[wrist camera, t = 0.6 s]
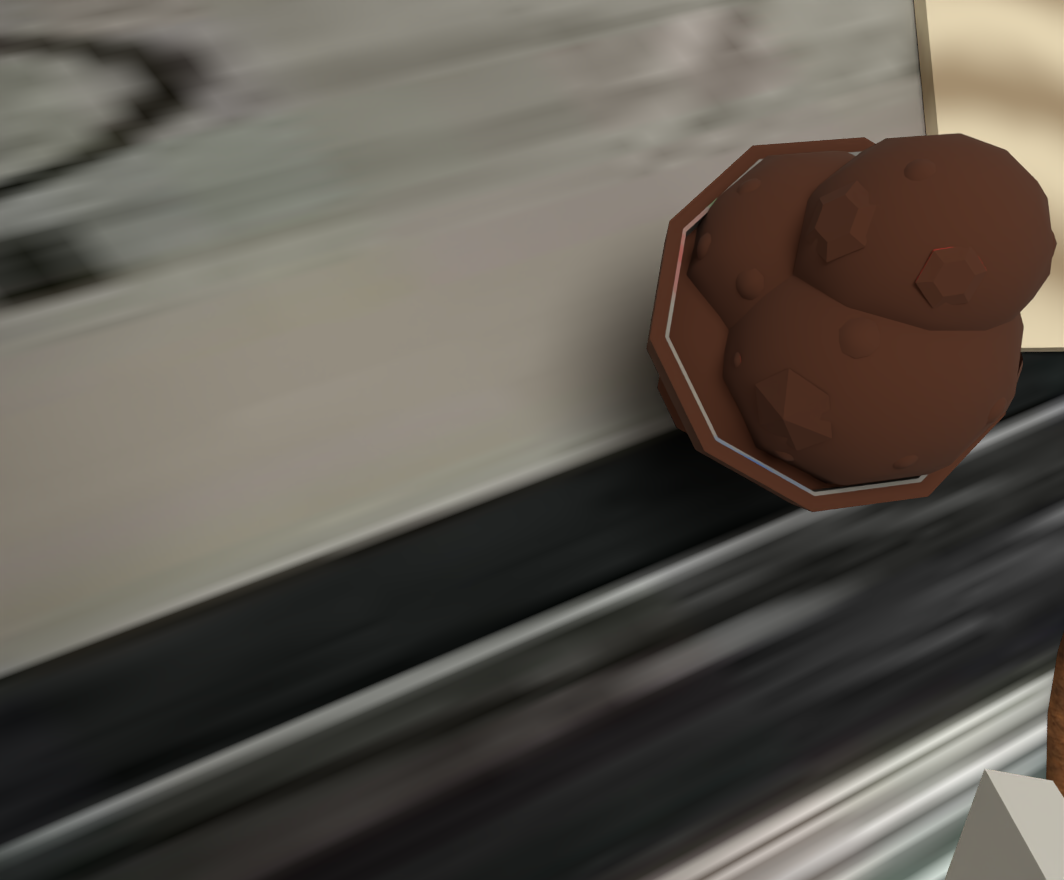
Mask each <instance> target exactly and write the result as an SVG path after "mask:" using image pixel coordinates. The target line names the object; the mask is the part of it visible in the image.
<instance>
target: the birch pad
mask: <svg viewBox="0 0 1064 880" xmlns="http://www.w3.org/2000/svg"><path fill="white" fill-rule="evenodd" d="M914 8H915V19H916V29H917V40H918V51H919V61H920V72H921V82H922V93H923V104H924V114H925V125H926V136H927V135H940V134H955V133H961V134H964V135H967V136H970V137H972V138H975V139H978V140H981V141H983V142H986V143H989V144H992V145H994V146H997V147H1000V148H1003V149H1005V150H1007V151H1008V152H1009V153H1010V154H1011V155H1012V156H1013V157H1014V158H1015V159H1016V160H1017V161H1018V162H1019V163H1020V164H1021V165H1022V166H1023V167H1024V168H1025V169H1026V170H1027V171H1028V172H1029V173H1030V174H1031V175H1032V176H1033V177H1034V178H1035V179H1036V180H1037V181H1038V183H1039V184H1040V186H1041V188H1042V189H1043V191H1044V193H1045V194H1046V196H1047V198H1048V205H1049V213H1050V221H1051V229H1052V231H1053V233H1054V235H1055V239H1056V242H1057V245H1056V249H1055V252H1054V255H1053V257H1052V263H1051V271H1050V275H1049V276H1048V278H1047V279H1046V281H1045V282H1044V284H1043V285H1042V287H1041V288H1040V290H1039V291H1038V293H1037V294H1036V295H1035V297H1034V298H1033V299H1032V300H1031V301H1030V303H1029V304H1028V305H1027V306H1026V307H1025V308H1024V309H1023V310H1022V311H1021V312H1020V314H1021V317H1022V321H1023V325H1024V330H1023V338H1022V345H1021V352H1057V351H1064V0H914Z"/></svg>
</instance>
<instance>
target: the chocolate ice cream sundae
mask: <svg viewBox="0 0 1064 880" xmlns="http://www.w3.org/2000/svg"><path fill="white" fill-rule="evenodd" d="M1056 245H1057V242H1056V239H1055V235H1054V233H1053V231H1052V229H1051V221H1050V213H1049V205H1048V198H1047V196H1046V194H1045V193H1044V191H1043V189H1042V188H1041V186H1040V184H1039V183H1038V181H1037V180H1036V179H1035V178H1034V177H1033V176H1032V175H1031V174H1030V173H1029V172H1028V171H1027V170H1026V169H1025V168H1024V167H1023V166H1022V165H1021V164H1020V163H1019V162H1018V161H1017V160H1016V159H1015V158H1014V157H1013V156H1012V155H1011V154H1010V153H1009V152H1008V151H1007V150H1005V149H1003V148H1000V147H997V146H994V145H992V144H989V143H986V142H983V141H981V140H978V139H975V138H972V137H970V136H967V135H964V134H961V133H955V134H940V135H927V136H913V137H900V138H886V139H884V140H882V141H881V142H879V143H877V144H875V143H873V142H871V141H870V140H868V139H866V138H865V137H863V138H849V139H836V140H822V141H809V142H795V143H782V144H768V145H755V146H752V147H751V148H750V149H748V150H747V151H746V152H745V153H744V154H743V155H742V156H741V157H740V158H739V159H737V160H736V161H735V162H734V163H733V164H732V165H731V166H730V167H729V168H728V169H726V170H725V171H724V172H723V173H722V174H721V175H720V176H719V177H718V178H716V179H715V180H714V181H713V182H712V183H711V184H710V185H709V186H708V187H707V188H705V189H704V190H703V191H702V192H701V193H700V194H699V195H698V196H697V197H696V198H694V199H693V200H692V201H691V202H690V203H689V204H688V205H687V206H686V207H685V208H683V209H682V210H681V211H680V212H679V213H678V214H677V215H676V216H675V217H674V218H672V219H671V220H670V222H669V226H668V230H667V235H666V239H665V243H664V249H663V255H662V261H661V266H660V272H659V278H658V284H657V290H656V296H655V302H654V308H653V313H652V319H651V325H650V331H649V337H648V343H647V351H648V353H649V355H650V357H651V359H652V361H653V363H654V366H655V368H656V370H657V372H658V374H659V382H658V390H659V392H660V394H661V396H662V398H663V400H664V402H665V404H666V406H667V409H668V411H669V413H670V415H671V417H672V419H673V421H674V423H675V425H676V427H677V428H679V429H680V430H682V431H684V432H686V433H687V434H688V436H689V438H690V440H691V442H692V444H693V446H694V448H695V450H697V451H699V452H700V453H702V454H704V455H706V456H707V457H709V458H711V459H713V460H715V461H716V462H718V463H720V464H722V465H723V466H725V467H727V468H729V469H731V470H732V471H734V472H736V473H738V474H739V475H741V476H743V477H745V478H747V479H748V480H750V481H752V482H754V483H755V484H757V485H759V486H761V487H763V488H764V489H766V490H768V491H770V492H771V493H773V494H775V495H777V496H779V497H780V498H782V499H784V500H786V501H787V502H789V503H791V504H793V505H796V506H798V507H801V508H804V509H806V510H809V511H811V512H815V511H823V510H830V509H838V508H845V507H853V506H860V505H868V504H875V503H882V502H890V501H897V500H905V499H912V498H920V497H927V496H929V495H930V494H931V493H932V492H933V491H934V490H935V489H936V487H937V486H938V485H939V484H940V483H941V482H942V481H943V480H944V479H945V478H946V477H947V476H948V475H949V474H950V473H951V472H952V470H953V469H954V468H955V467H956V466H957V465H958V464H959V463H960V462H961V461H962V460H963V459H964V458H965V457H966V456H967V455H968V453H969V452H970V451H971V450H972V449H973V448H974V447H975V446H976V445H977V444H978V443H979V442H980V441H981V440H982V439H983V438H984V436H985V435H986V434H987V433H988V432H989V431H990V430H991V429H992V428H993V427H994V426H995V425H996V424H997V423H998V422H999V421H1000V419H1001V418H1002V417H1003V416H1004V415H1005V413H1006V410H1007V409H1008V407H1009V405H1010V403H1011V401H1012V399H1013V397H1014V395H1015V390H1016V384H1017V381H1018V378H1019V375H1020V372H1021V369H1022V366H1023V358H1022V354H1021V345H1022V338H1023V330H1024V325H1023V321H1022V317H1021V314H1020V312H1021V311H1022V310H1023V309H1024V308H1025V307H1026V306H1027V305H1028V304H1029V303H1030V301H1031V300H1032V299H1033V298H1034V297H1035V295H1036V294H1037V293H1038V291H1039V290H1040V288H1041V287H1042V285H1043V284H1044V282H1045V281H1046V279H1047V278H1048V276H1049V275H1050V271H1051V263H1052V257H1053V255H1054V252H1055V249H1056Z"/></svg>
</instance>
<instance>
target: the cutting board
mask: <svg viewBox="0 0 1064 880" xmlns="http://www.w3.org/2000/svg"><path fill="white" fill-rule="evenodd" d="M1046 780H1051V781H1053V782H1054V783H1055V785H1056V787H1057V788H1058V790H1059V791H1060V793H1061V794H1062V796H1063V797H1064V633H1063V637H1062V640H1061V643H1060V646H1059V649H1058V654H1057V660H1056V666H1055V672H1054V678H1053V684H1052V690H1051V696H1050V702H1049V708H1048V723H1047V773H1046Z"/></svg>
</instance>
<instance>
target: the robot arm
mask: <svg viewBox="0 0 1064 880" xmlns="http://www.w3.org/2000/svg"><path fill="white" fill-rule="evenodd" d="M945 880H1064V797H1063V796H1062V794H1061V793H1060V791H1059V790H1058V788H1057V787H1056V785H1055V783H1054V782H1053V781H1051V780H1045V779H1040V778H1034V777H1028V776H1023V775H1017V774H1011V773H1006V772H1000V771H994V770H988V769H985V770H984V772H983V775H982V778H981V781H980V783H979V786H978V789H977V792H976V794H975V797H974V800H973V803H972V806H971V808H970V811H969V814H968V817H967V819H966V822H965V825H964V828H963V830H962V833H961V836H960V839H959V842H958V844H957V847H956V850H955V853H954V855H953V858H952V861H951V864H950V866H949V869H948V872H947V875H946V878H945Z"/></svg>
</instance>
